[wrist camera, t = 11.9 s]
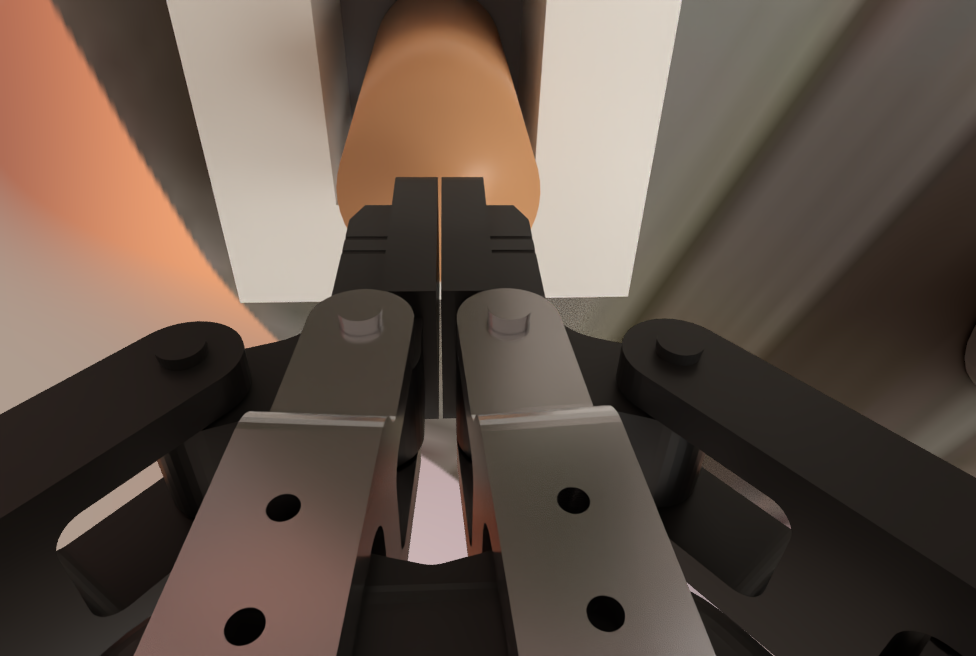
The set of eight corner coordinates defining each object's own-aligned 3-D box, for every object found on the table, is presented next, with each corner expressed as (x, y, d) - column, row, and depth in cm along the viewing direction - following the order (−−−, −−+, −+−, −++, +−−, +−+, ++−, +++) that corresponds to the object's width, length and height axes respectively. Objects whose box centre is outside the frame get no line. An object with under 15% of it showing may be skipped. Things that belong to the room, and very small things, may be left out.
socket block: (643, -181, 19) (714, -180, 14) (592, 208, 26) (627, 296, 21) (202, -194, 18) (117, -199, 13) (277, 211, 25) (240, 303, 20)
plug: (502, -16, 20) (545, 91, 12) (501, 116, 22) (536, 278, 14) (367, -13, 20) (320, 97, 12) (381, 119, 22) (350, 285, 14)
